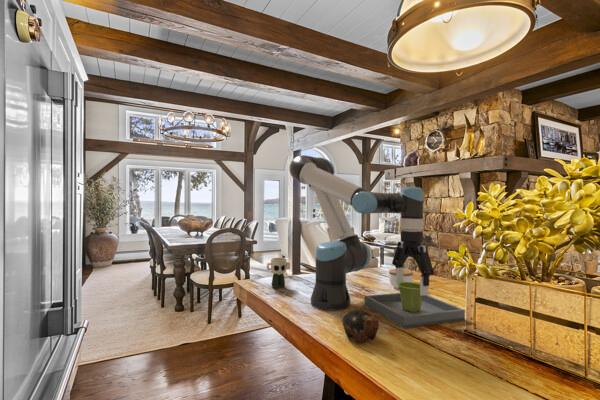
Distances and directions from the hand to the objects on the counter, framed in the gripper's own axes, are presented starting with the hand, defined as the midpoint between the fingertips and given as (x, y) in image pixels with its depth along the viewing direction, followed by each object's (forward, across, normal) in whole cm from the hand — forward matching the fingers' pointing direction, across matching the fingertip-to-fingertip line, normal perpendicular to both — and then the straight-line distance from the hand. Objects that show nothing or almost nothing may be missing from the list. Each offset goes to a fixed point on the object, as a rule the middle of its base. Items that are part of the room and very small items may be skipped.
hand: (411, 289), depth 115 cm
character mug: (+8, +47, +37) cm, 60 cm away
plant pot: (+7, 0, 0) cm, 7 cm away
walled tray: (+8, 0, 0) cm, 8 cm away
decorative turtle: (+8, -14, +28) cm, 33 cm away
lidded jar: (+8, +30, -17) cm, 35 cm away
